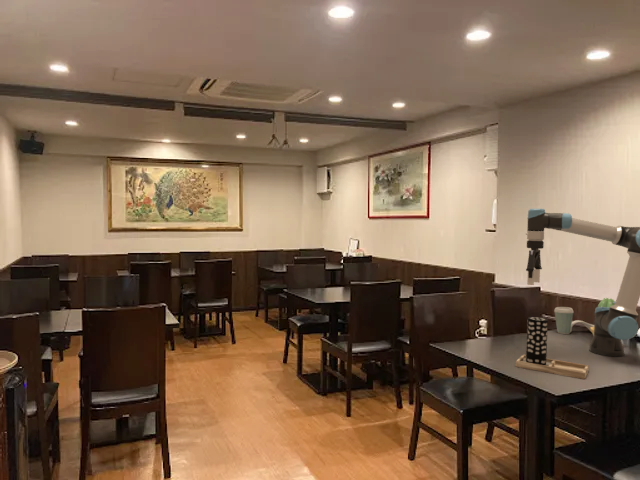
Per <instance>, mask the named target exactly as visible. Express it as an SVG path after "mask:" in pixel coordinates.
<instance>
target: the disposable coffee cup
mask: <svg viewBox="0 0 640 480" xmlns="http://www.w3.org/2000/svg"><path fill="white" fill-rule="evenodd" d="M553 312H554V318H555V324H556V329H557V333H558V334H561V335H569V334H570V333H571V332H570V329H571V323H572V322H573V316H574V313H575V312H574V310H573V308H572V307H568V306H557V307H555V308H554V310H553Z"/></svg>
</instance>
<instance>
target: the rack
mask: <svg viewBox="0 0 640 480" xmlns="http://www.w3.org/2000/svg"><path fill="white" fill-rule="evenodd" d="M516 367H517V368H522V369H527V370H531V371H538V372H543V373H549V374H553V373H554V374H555V375H560V376H564V377H570V378H575V379H582V380H585V379H586V377H587V375H588V373H589V368H590V365H588V364H583V363H577V362H569V361H566V360H565V361H564V360H558V359H552V358H547V357H546V365H539V364H533V363H528V362H526V354H522V355H521V356H520V357H519V358H518V359H517V360H515V368H516Z"/></svg>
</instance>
